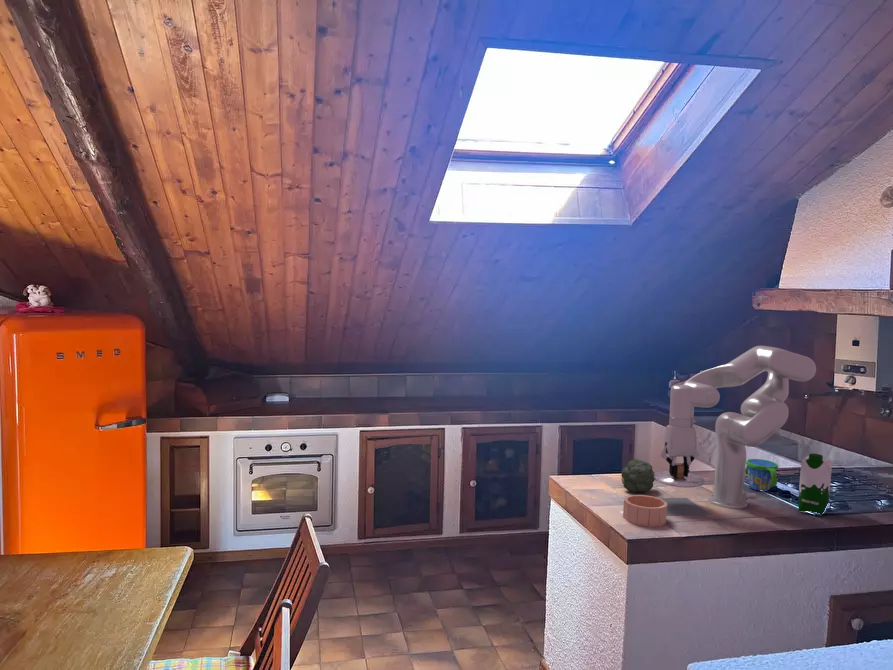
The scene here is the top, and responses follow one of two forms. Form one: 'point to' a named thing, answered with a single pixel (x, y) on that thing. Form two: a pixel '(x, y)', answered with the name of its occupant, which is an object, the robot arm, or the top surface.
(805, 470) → the milk carton
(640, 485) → the vegetable
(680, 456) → the robot arm
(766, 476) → the snack cup
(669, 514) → the mat
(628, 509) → the bowl
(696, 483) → the lid
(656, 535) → the top surface
